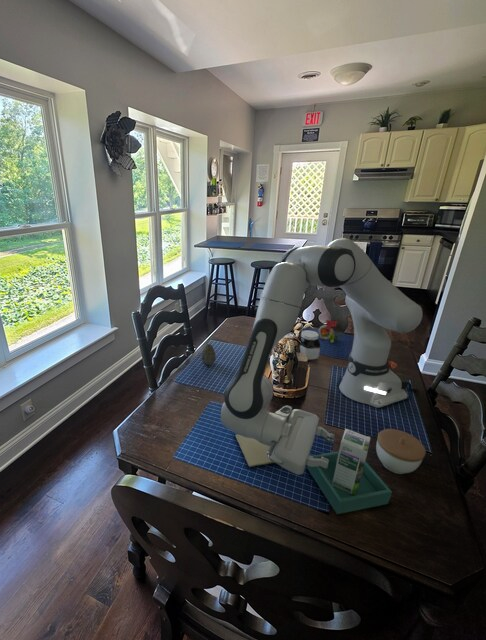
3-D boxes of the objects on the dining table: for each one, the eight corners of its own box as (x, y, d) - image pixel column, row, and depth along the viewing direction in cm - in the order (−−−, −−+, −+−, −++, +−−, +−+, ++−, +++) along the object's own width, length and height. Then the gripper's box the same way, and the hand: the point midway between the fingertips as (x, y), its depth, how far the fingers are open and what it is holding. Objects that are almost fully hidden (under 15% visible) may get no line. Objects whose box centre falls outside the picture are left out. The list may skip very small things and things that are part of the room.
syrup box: (330, 485, 81) (340, 441, 75) (336, 469, 85) (345, 426, 80) (355, 497, 78) (367, 452, 72) (359, 480, 82) (371, 436, 77)
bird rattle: (319, 345, 156) (339, 343, 149) (313, 324, 154) (332, 321, 148) (323, 340, 160) (342, 338, 154) (317, 319, 159) (336, 316, 153)
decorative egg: (209, 370, 133) (209, 348, 129) (198, 365, 137) (198, 344, 133) (218, 364, 137) (218, 343, 133) (207, 359, 141) (207, 339, 137)
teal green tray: (351, 459, 89) (354, 448, 88) (388, 503, 77) (392, 491, 75) (306, 467, 87) (308, 456, 85) (337, 514, 75) (340, 502, 73)
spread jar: (320, 362, 137) (325, 338, 132) (296, 365, 135) (299, 340, 131) (306, 349, 148) (310, 326, 143) (283, 351, 146) (286, 328, 142)
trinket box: (399, 487, 81) (409, 459, 77) (363, 456, 90) (370, 430, 86) (427, 472, 85) (437, 445, 81) (389, 444, 94) (397, 419, 90)
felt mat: (283, 428, 101) (284, 427, 101) (303, 457, 90) (303, 456, 90) (235, 435, 98) (235, 434, 98) (249, 467, 87) (249, 465, 87)
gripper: (265, 447, 78) (326, 471, 71) (288, 401, 94) (339, 417, 87) (263, 467, 80) (322, 491, 74) (285, 418, 96) (335, 435, 90)
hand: (331, 451), depth 81 cm, fingers open, 8 cm apart
